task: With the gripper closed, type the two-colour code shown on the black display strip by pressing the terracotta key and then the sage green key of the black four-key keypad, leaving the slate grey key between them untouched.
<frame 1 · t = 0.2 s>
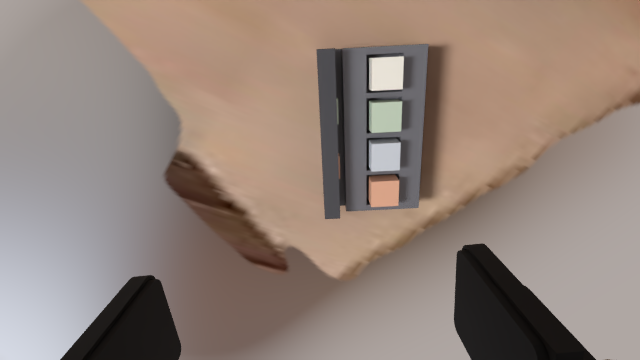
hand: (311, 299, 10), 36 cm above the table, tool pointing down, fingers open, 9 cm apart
key cream: (385, 73, 39), point 4 cm above the table, slide at 0.0 cm
key slate: (383, 154, 42), point 4 cm above the table, slide at 0.0 cm
keypad: (378, 129, 45), on the table
key terracotta: (383, 190, 44), point 4 cm above the table, slide at 0.0 cm
key sage: (384, 115, 40), point 4 cm above the table, slide at 0.0 cm
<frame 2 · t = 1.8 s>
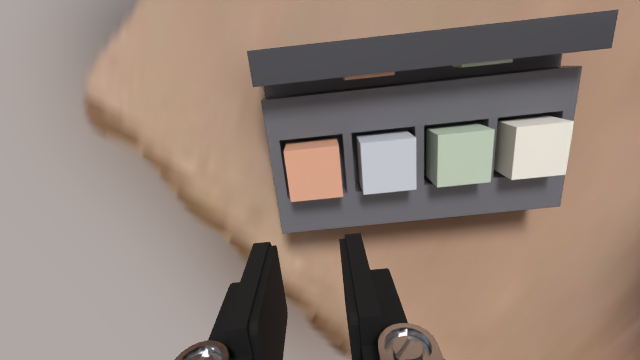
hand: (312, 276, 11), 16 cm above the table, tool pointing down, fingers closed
key cream: (530, 147, 23), point 4 cm above the table, slide at 0.0 cm
key slate: (385, 161, 23), point 4 cm above the table, slide at 0.0 cm
keypad: (406, 145, 26), on the table
key terracotta: (314, 169, 23), point 4 cm above the table, slide at 0.0 cm
key sage: (457, 154, 23), point 4 cm above the table, slide at 0.0 cm
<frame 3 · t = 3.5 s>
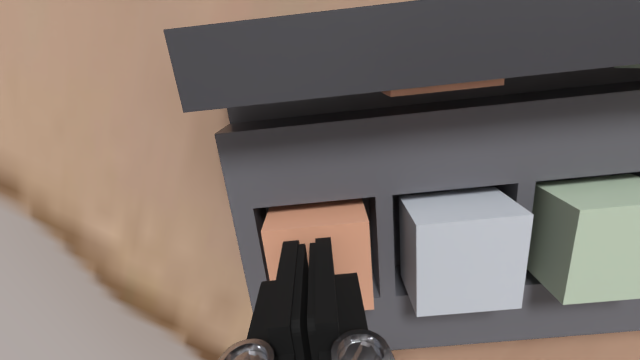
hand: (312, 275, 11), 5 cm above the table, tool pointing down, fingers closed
key slate: (457, 249, 12), point 4 cm above the table, slide at 0.0 cm
keypad: (477, 200, 15), on the table
key terracotta: (320, 253, 13), point 3 cm above the table, slide at 0.5 cm, touching gripper
key sage: (598, 236, 12), point 4 cm above the table, slide at 0.0 cm
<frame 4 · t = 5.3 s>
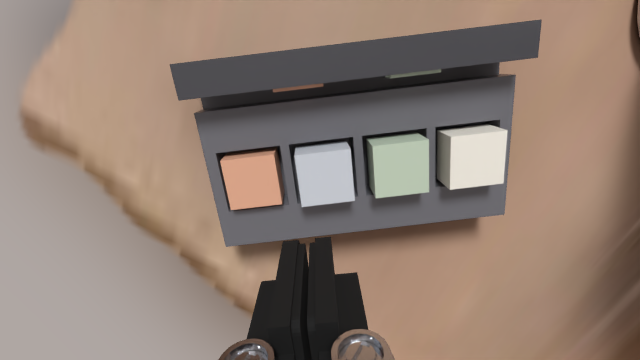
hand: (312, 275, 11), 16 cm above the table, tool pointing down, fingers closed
key cream: (469, 156, 22), point 4 cm above the table, slide at 0.0 cm
key slate: (324, 173, 22), point 4 cm above the table, slide at 0.0 cm
keypad: (353, 154, 26), on the table
key terracotta: (254, 177, 23), point 3 cm above the table, slide at 0.9 cm
key sage: (396, 164, 22), point 4 cm above the table, slide at 0.0 cm
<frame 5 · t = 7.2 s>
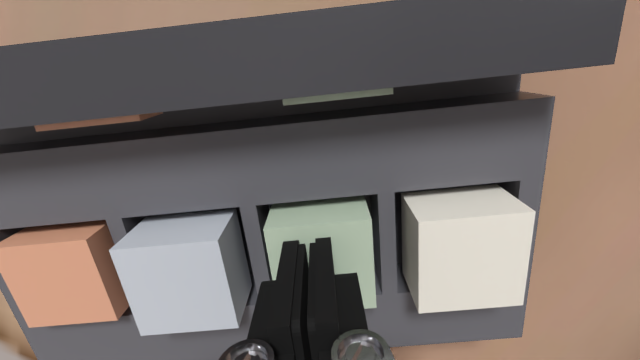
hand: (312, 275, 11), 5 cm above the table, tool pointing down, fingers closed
key cream: (459, 246, 12), point 4 cm above the table, slide at 0.0 cm
key slate: (190, 269, 12), point 4 cm above the table, slide at 0.0 cm
keypad: (270, 217, 16), on the table
key terracotta: (78, 267, 13), point 3 cm above the table, slide at 0.9 cm
key sage: (322, 251, 13), point 3 cm above the table, slide at 0.5 cm, touching gripper
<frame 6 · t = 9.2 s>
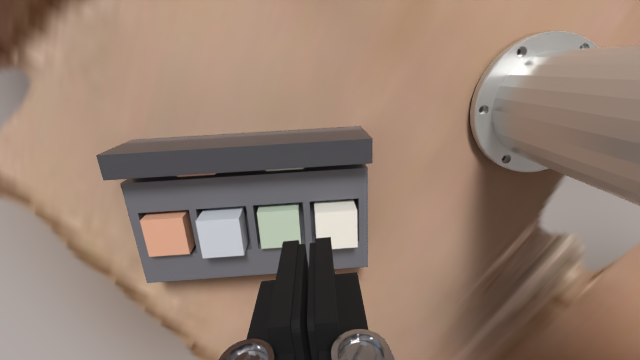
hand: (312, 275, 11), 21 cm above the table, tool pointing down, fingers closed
key cream: (335, 224, 29), point 4 cm above the table, slide at 0.0 cm
key slate: (223, 232, 29), point 4 cm above the table, slide at 0.0 cm
keypad: (257, 211, 33), on the table
key terracotta: (170, 231, 30), point 3 cm above the table, slide at 0.9 cm
key sage: (280, 223, 30), point 3 cm above the table, slide at 0.9 cm
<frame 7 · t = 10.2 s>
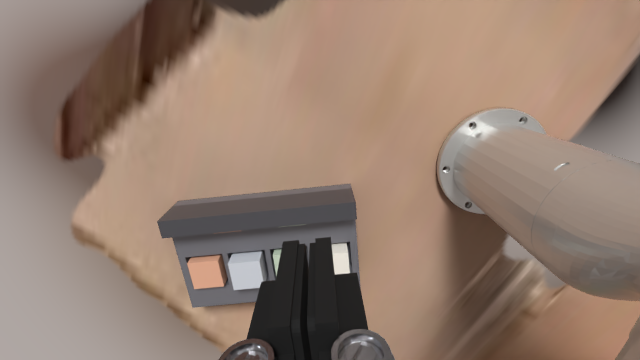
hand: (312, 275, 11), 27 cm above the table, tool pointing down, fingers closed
key cream: (332, 261, 38), point 4 cm above the table, slide at 0.0 cm
key slate: (248, 269, 39), point 4 cm above the table, slide at 0.0 cm
keypad: (273, 249, 42), on the table
key terracotta: (208, 269, 39), point 3 cm above the table, slide at 0.9 cm
key sage: (291, 261, 39), point 3 cm above the table, slide at 0.9 cm
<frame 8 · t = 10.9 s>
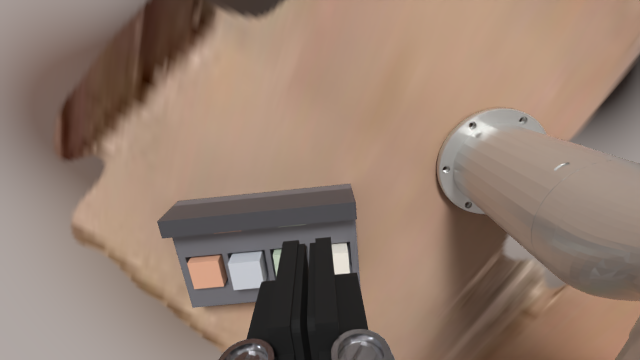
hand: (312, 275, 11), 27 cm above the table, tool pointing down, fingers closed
key cream: (332, 261, 38), point 4 cm above the table, slide at 0.0 cm
key slate: (248, 269, 39), point 4 cm above the table, slide at 0.0 cm
keypad: (273, 249, 42), on the table
key terracotta: (209, 269, 39), point 3 cm above the table, slide at 0.9 cm
key sage: (291, 261, 39), point 3 cm above the table, slide at 0.9 cm
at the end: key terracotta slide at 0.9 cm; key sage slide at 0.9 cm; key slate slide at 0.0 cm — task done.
